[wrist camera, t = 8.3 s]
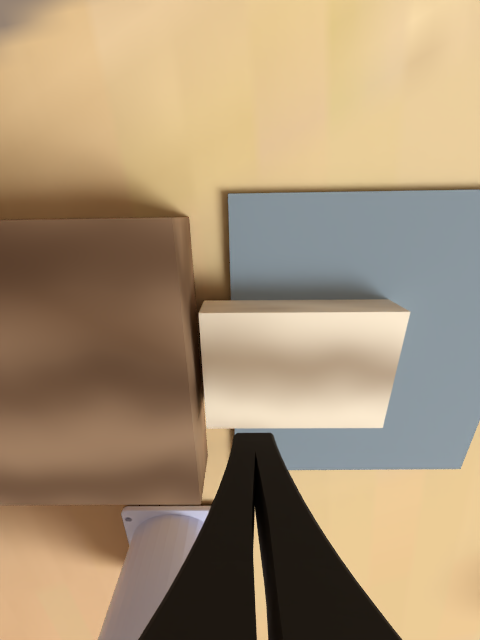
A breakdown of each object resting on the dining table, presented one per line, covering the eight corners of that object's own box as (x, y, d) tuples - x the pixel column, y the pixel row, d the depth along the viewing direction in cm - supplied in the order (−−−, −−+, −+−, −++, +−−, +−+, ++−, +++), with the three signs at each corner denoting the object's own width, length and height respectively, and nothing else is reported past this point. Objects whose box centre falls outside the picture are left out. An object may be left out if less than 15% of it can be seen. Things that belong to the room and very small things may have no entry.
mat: (456, 464, 19) (460, 469, 19) (235, 465, 20) (235, 470, 19) (561, 188, 13) (571, 187, 12) (228, 194, 13) (227, 193, 13)
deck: (207, 455, 19) (200, 504, 16) (-41, 456, 19) (-97, 505, 16) (188, 216, 13) (172, 217, 10) (-166, 222, 14) (-295, 224, 10)
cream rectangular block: (367, 404, 17) (382, 428, 15) (210, 405, 17) (206, 428, 15) (388, 299, 14) (410, 311, 13) (204, 300, 15) (198, 313, 13)
